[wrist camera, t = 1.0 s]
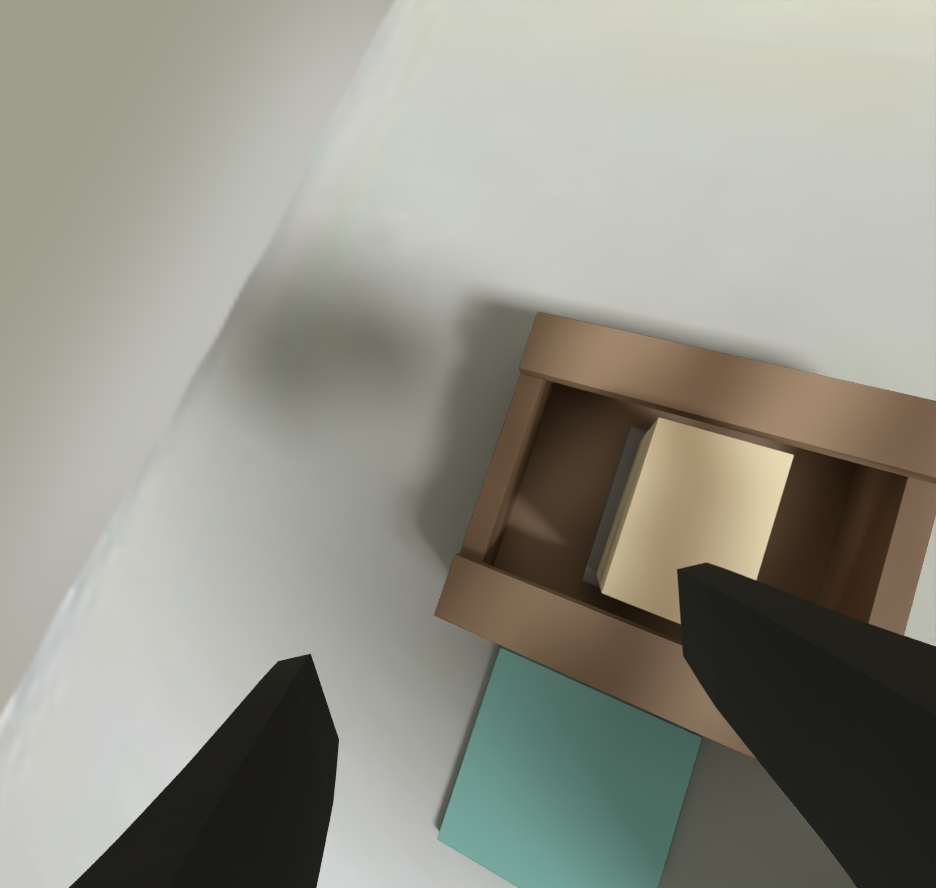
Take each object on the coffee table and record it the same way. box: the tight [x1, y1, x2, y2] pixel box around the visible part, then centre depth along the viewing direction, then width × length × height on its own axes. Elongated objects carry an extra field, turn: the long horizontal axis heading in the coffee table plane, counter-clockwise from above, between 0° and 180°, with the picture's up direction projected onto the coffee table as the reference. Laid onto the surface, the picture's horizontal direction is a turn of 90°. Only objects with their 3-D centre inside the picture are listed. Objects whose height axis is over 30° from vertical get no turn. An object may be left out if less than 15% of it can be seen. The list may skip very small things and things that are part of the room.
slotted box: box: [434, 312, 936, 760], centre depth 19 cm, size 15×13×5 cm
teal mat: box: [437, 646, 702, 888], centre depth 20 cm, size 9×9×1 cm
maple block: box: [596, 418, 794, 624], centre depth 16 cm, size 4×6×5 cm, turn 160°
